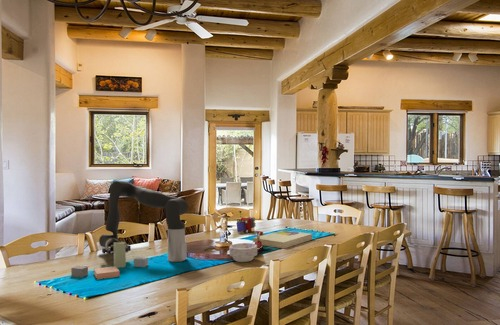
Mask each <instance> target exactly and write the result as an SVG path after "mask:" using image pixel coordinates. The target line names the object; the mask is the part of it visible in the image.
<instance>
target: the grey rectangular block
mask: <svg viewBox="0 0 500 325" xmlns="http://www.w3.org/2000/svg"><path fill="white" fill-rule="evenodd" d="M88 275H89V266H81V265H76V266H72V267H71V277H74V278H75V277H77V278H83V277H86V276H88Z"/></svg>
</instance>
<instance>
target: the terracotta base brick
mask: <svg viewBox="0 0 500 325" xmlns="http://www.w3.org/2000/svg"><path fill="white" fill-rule="evenodd" d="M93 275H94V277H95V279H96V278H97V279H96V280H102V279H103V278H104V279H110V278H116V277H118V276H119V277H121V276H120V270H119V268H117V267H116V266H114V265H113V266H106V267H98V268H94V269H93ZM119 277H118V278H119ZM104 279H103V280H104Z"/></svg>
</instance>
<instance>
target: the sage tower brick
mask: <svg viewBox="0 0 500 325" xmlns="http://www.w3.org/2000/svg"><path fill="white" fill-rule="evenodd" d="M125 246H126V242H125V241H119V242H114V254H113V266H116V267H117V268H118V269H119V268H125V267H126V266H127V265H126V263H127V262H126V260H127V259H126V252H125Z"/></svg>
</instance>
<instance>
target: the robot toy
mask: <svg viewBox="0 0 500 325" xmlns="http://www.w3.org/2000/svg"><path fill="white" fill-rule="evenodd" d="M238 212H239V214H240V216H241V215H242V210H239V211H238ZM256 226H257V225H256V217H251V216H247V217H242V216H241V217H240V218H237V220H236V232H237V233H243V232H245V233H246V234H248V233H252V232H253V231H252V230H253V229H254V228H255V227H256Z"/></svg>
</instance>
